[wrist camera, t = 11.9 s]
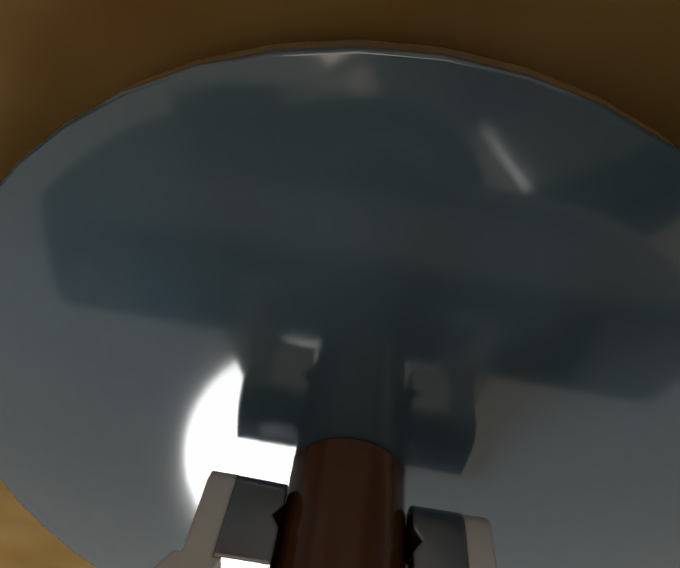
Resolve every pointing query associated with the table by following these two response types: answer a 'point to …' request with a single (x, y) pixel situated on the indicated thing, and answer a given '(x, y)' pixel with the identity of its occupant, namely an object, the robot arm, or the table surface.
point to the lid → (347, 310)
